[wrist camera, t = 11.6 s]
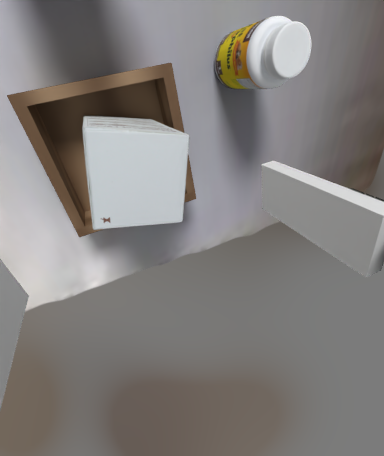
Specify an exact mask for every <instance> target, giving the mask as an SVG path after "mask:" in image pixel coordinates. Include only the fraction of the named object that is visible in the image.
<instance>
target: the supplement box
mask: <svg viewBox="0 0 384 456" xmlns="http://www.w3.org/2000/svg"><path fill="white" fill-rule="evenodd" d="M82 130H83V143H84V155H85V165H86V175H87V184H88V192H89V200H90V208H91V217H92V226H93V229H94V230H100V229H109V228H120V227H132V226H144V225H156V224H168V223H178V222H182V221H183V211H184V200H185V187H186V174H187V161H188V147H189V135H188V134H186V133H183V132H181V131H178V130H176V129H173V128H171V127H168V126H166V125H164V124H161V123H159V122H157V121H155V120H152V119H140V118H126V117H111V116H95V115H84V116H83V128H82Z"/></svg>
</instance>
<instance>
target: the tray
mask: <svg viewBox="0 0 384 456" xmlns="http://www.w3.org/2000/svg"><path fill="white" fill-rule="evenodd" d="M7 97H8V99H9V101H10V103H11V105H12V106H13V108H14V110H15V112H16V114H17V116H18V118H19V120H20V122H21V124H22V126H23V128H24V130H25V132H26V134H27V136H28V138H29V140H30V142H31V144H32V146H33V148H34V150H35V152H36V153H37V155H38V157H39V159H40V161H41V163H42V165H43V167H44V169H45V171H46V173H47V175H48V177H49V179H50V181H51V183H52V185H53V187H54V189H55V191H56V193H57V195H58V197H59V198H60V200H61V202H62V204H63V206H64V208H65V210H66V212H67V214H68V216H69V218H70V220H71V222H72V224H73V226H74V228H75V230H76V232H77V234H78V236H79V237H82V236H85V235H88V234H91V233H94V232H97V231H100V230H103V229H100V230H94V229H93V226H92V217H91V208H90V200H89V192H88V184H87V175H86V165H85V155H84V143H83V130H82V128H83V116H84V115H95V116H111V117H126V118H140V119H152V120H155V121H157V122H159V123H161V124H164V125H166V126H168V127H171V128H173V129H176V130H178V131H181V132H183V133H184V128H183V123H182V117H181V112H180V106H179V101H178V95H177V90H176V84H175V79H174V74H173V68H172V63H167V64H162V65H157V66H152V67H147V68H142V69H137V70H132V71H127V72H122V73H117V74H112V75H107V76H102V77H97V78H92V79H87V80H82V81H76V82H71V83H66V84H61V85H56V86H51V87H46V88H41V89H36V90H31V91H26V92H21V93H16V94H11V95H7ZM194 199H196V194H195V189H194V183H193V178H192V172H191V167H190V161H189V156H188V161H187V174H186V187H185V200H184V203H185V202H188V201H191V200H194Z"/></svg>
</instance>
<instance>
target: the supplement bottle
mask: <svg viewBox="0 0 384 456" xmlns="http://www.w3.org/2000/svg"><path fill="white" fill-rule="evenodd" d="M310 52H311V37H310V33H309V31H308V29H307V27H306V26H305V25H304V24H302V23H300V22H296V21H295V22H292V21H291V20H289V19H288V18H286V17H283V16H273V17H270V18H267V19H264V20H262V21H259V22H257V23H254V24H251V25H249V26H246V27H243V28H241V29H238V30H236V31H233V32H231V33H229V34H227V35H226V36H225V37H224V38H223V39H222V40H221V42H220V43H219V45H218V47H217V50H216V53H215V70H216V74H217V76H218V78H219V80H220V81H221V82H222V83H223V84H224V85H225V86H227V87H229V88H233V89H273V88H277V87H279V86H281V85H283V84H284V83H285V82H286V81H287V80H288V79H289V78H293V77H295V76H297V75H298V74H299V73H300V72H301V71H302V70H303V69H304V67H305V66H306V64H307V62H308V60H309V57H310Z"/></svg>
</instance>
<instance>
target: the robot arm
mask: <svg viewBox="0 0 384 456" xmlns="http://www.w3.org/2000/svg"><path fill="white" fill-rule="evenodd" d="M261 165H262V209H263V210H265V211H266V212H268V213H269V214H271V215H272V216H274V217H275V218H277V219H278V220H280V221H281V222H283V223H284V224H286V225H287V226H289V227H290V228H292V229H293V230H295V231H297V232H298V233H299V234H301V235H303V236H304V237H305V238H307V239H308V240H310V241H311V242H313V243H314V244H316V245H318V246H319V247H320V248H322V249H324V250H325V251H327V252H328V253H330V254H331V255H333V256H334V257H336V258H337V259H339V260H340V261H342V262H343V263H345V264H346V265H348V266H349V267H351V268H352V269H354V270H355V271H357V272H358V273H360V274H361V275H363V276H364V277H368V276H370V275H372V274H374V273H376V272H378V271H380V270H381V269H382V266H383V262H384V200H382V199H379V198H377V197H376V198H374V197H373V196H371V195H368V194H364V193H363V192H360V191H358V190H355V189H352V188H346V187H343V186H340V185H337V184H335V183H332V182H329V181H327V180H324V179H321V178H319V177H316V176H313V175H311V174H308V173H305V172H303V171H300V170H297V169H295V168H292V167H289V166H287V165H284V164H281V163H279V162H276V161H271V162H268V163H265V164H261ZM28 297H29V296H28V294H27V293H26V292H25V290H24V289H23V288H22V286H21V285H20V284H19V283H18V281H17V280H16V279H15V277H14V276H13V275H12V273H11V272H10V271H9V270H8V268H7V267H6V266H5V264H4V263H3V262H2V261H1V259H0V409H1V405H2V401H3V397H4V393H5V389H6V385H7V381H8V377H9V373H10V369H11V365H12V361H13V357H14V353H15V349H16V345H17V341H18V337H19V333H20V329H21V325H22V321H23V317H24V313H25V309H26V305H27V301H28Z"/></svg>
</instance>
